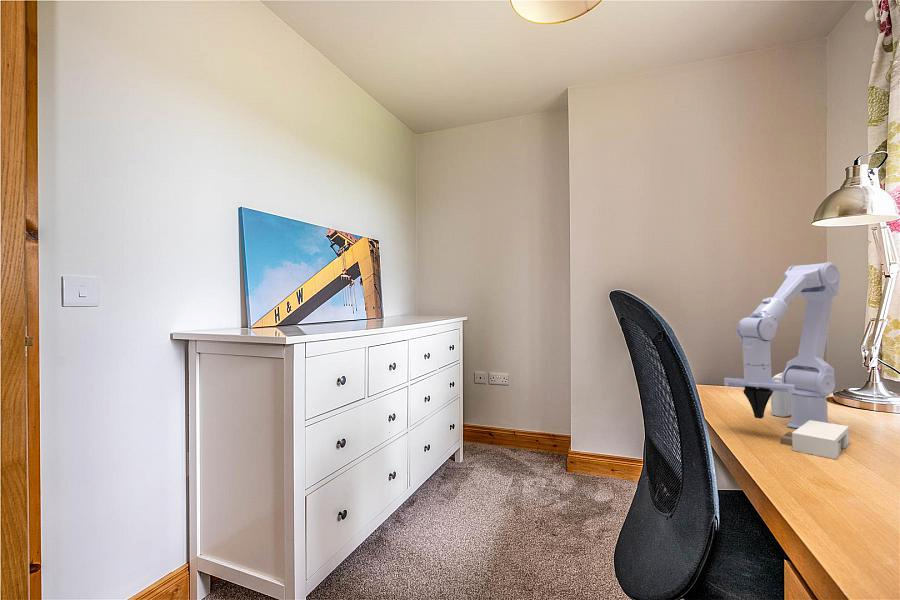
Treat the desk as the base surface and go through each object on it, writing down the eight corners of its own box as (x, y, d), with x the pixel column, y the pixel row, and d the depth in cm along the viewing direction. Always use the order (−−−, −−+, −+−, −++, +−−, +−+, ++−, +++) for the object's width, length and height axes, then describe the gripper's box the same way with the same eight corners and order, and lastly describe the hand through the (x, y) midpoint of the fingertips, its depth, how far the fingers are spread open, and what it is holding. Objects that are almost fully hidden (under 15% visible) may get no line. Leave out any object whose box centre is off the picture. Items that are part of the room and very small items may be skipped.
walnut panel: (789, 439, 104) (788, 431, 104) (837, 448, 96) (837, 440, 97) (780, 445, 99) (780, 437, 99) (830, 455, 92) (830, 446, 92)
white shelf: (810, 436, 104) (809, 420, 104) (849, 443, 99) (849, 426, 99) (792, 450, 94) (791, 432, 94) (835, 459, 89) (834, 440, 89)
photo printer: (782, 410, 130) (781, 370, 130) (799, 413, 126) (798, 372, 126) (769, 415, 124) (767, 373, 124) (786, 418, 120) (785, 375, 121)
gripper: (719, 363, 110) (721, 414, 109) (788, 368, 98) (790, 426, 98) (729, 360, 114) (730, 410, 114) (796, 365, 103) (798, 420, 102)
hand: (759, 417), depth 106 cm, fingers closed
